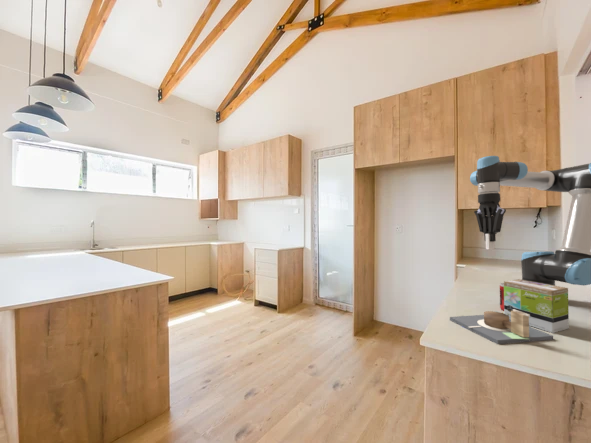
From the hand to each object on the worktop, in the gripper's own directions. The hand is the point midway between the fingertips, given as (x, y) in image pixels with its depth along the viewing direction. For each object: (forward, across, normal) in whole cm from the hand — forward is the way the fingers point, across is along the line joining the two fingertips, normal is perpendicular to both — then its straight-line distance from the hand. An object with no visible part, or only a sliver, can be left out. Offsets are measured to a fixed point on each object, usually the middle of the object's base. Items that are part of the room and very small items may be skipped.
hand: (490, 249), depth 107 cm
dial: (+25, +20, -14) cm, 35 cm away
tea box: (+27, +14, +4) cm, 30 cm away
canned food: (+27, +1, +9) cm, 28 cm away
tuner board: (+26, +16, -14) cm, 34 cm away
